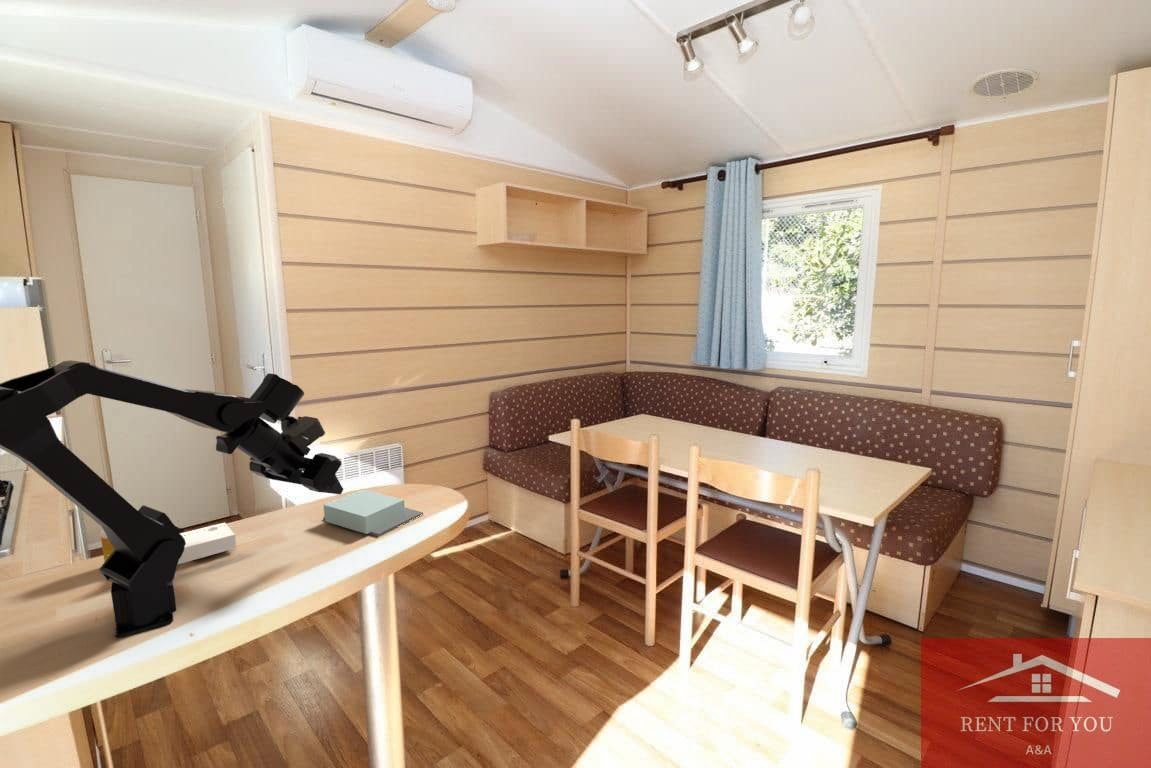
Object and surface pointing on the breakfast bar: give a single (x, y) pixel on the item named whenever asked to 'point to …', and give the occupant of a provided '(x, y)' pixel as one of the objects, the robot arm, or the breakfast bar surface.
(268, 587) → the breakfast bar surface
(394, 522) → the mat
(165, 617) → the robot arm
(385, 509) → the grey-green slab
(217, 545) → the white box
